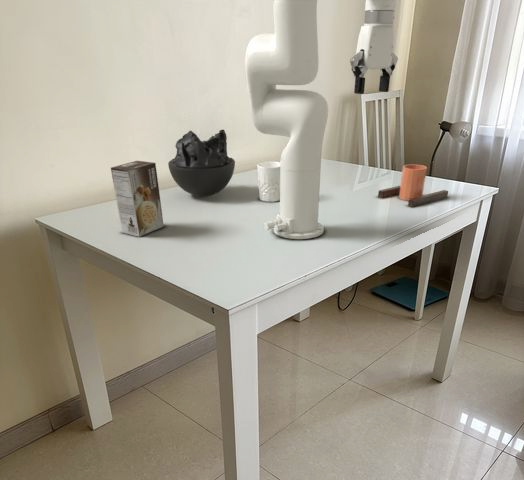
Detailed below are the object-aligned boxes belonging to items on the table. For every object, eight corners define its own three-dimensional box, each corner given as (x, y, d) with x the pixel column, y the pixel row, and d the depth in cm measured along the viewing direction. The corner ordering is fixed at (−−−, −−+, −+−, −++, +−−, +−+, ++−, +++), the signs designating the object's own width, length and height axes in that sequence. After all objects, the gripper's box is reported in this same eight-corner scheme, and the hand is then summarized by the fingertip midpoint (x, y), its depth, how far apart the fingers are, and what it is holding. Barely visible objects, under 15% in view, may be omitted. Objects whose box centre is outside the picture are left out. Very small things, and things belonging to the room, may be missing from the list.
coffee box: (146, 223, 132) (137, 159, 123) (164, 227, 129) (156, 162, 120) (121, 233, 125) (109, 166, 116) (139, 237, 122) (129, 170, 114)
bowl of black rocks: (161, 202, 148) (153, 134, 138) (185, 185, 164) (180, 123, 154) (225, 206, 144) (221, 136, 134) (243, 188, 160) (241, 125, 150)
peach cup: (411, 202, 145) (416, 170, 141) (394, 197, 150) (398, 166, 145) (426, 198, 149) (431, 167, 144) (408, 193, 153) (413, 163, 149)
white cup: (281, 203, 146) (281, 167, 141) (255, 201, 147) (254, 166, 142) (285, 195, 153) (286, 162, 147) (260, 194, 154) (260, 161, 148)
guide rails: (412, 207, 141) (413, 200, 140) (377, 197, 150) (378, 190, 149) (447, 197, 149) (448, 191, 148) (412, 188, 158) (413, 182, 157)
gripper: (390, 20, 137) (382, 90, 146) (344, 19, 128) (339, 93, 138) (411, 19, 132) (402, 91, 141) (365, 18, 123) (358, 95, 132)
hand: (371, 92), depth 139 cm, fingers open, 9 cm apart
